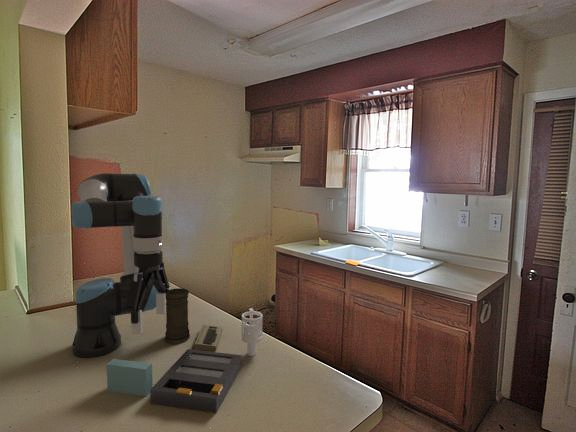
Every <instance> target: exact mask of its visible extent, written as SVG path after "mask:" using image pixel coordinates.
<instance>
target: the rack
mask: <svg viewBox="0 0 576 432" xmlns="http://www.w3.org/2000/svg"><path fill="white" fill-rule="evenodd" d="M242 367H243V355H241V354H235V353H226V352H225V353H224V352H217V351H200V350H193V349H191V348H187V349H186V350H185V351H184V352H183V354H182V355H181V356H180V357H179V358H178V359H177V360H176V361H175V363H173V364H172V365H171V366H170V367H169V369H168V370H167V371H166V372H164V374H163V375H162V376H161V377H160V378H159V380H158V381H157V382H156V383H155V384H154V385H153V387H152V388H151V389H150V393H149V394H150V395H149V397H150V405H151V404H152V405H159V406H164V407H165V406H166V407H170V408H180V409H187V410H192V411H201V412H208V413H213V414H217V413H218V411H219V409H220V407H221V406H222V404H223V402H224V401H225V399H226V398H227V397H226V396H227V395H228V393H229V391H230V389H231V388H232V385H233V384H234V383H235V380H236V379H237V377H238V375H239V373H240V371H242Z"/></svg>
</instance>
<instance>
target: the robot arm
mask: <svg viewBox="0 0 576 432" xmlns="http://www.w3.org/2000/svg"><path fill="white" fill-rule="evenodd" d="M78 185H79V186H77V187H78V188H77V195H78V198H79V199H80V201H74V202H72V204H71V224H72V226H73V227H74V229H96V228H97V229H98V228H111V227H113V228H114V227H115V228H117V227H120V228H121V241H122V242H121V243H122V258H123V260H122V261H123V273H122V274H121V275H120V276H119V281H117V282H115V280H114V279H113V278H110V277H106V278H105V277H103V278H96V279H93V280H90V281H87V282H85V283H82V284H80V285H79V286H78V287H77V288H76V291H75V304H76V305H75V306H76V307H75V308H76V310H75V311H76V331H75V334H74V338H73V341H72V344H71V352H72V354H73V355H74V356H76V357H79V358H96V357H100V356H104V355H106V354H109V353H112V352H113V351H115V350H117V349H118V348H119V347H120V346H121V345H122V335H121V333H120V332H119V329H118V326H117V323H116V317H117V316H123V315H129V314H130V324H131V325H130V327H131V329H130V330H131V331H130V332H131V335H142V334H143V313H144V312H147V311H152V310H155V309H156V310H155V311H156V312H155V314H156V315H165V316H166V293H168V292H169V290H170V289H169V288H170V283H169V280H168V276H167V273H166V270H165V263H164V261H163V251H162V249H163V243H164V240H163V205H162V198H161V197H159V196H154V195H152V190H151V189H152V188H151V184H150V181H149V178H148V177H147V176H146V175H145V174H141V173H139V174H138V173H107V172H104V173H98V174H93V175H91V176H89V177H87V178H85V179H84V180H82V181H81V182H80V184H78Z"/></svg>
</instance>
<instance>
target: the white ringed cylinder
mask: <svg viewBox="0 0 576 432" xmlns="http://www.w3.org/2000/svg"><path fill="white" fill-rule="evenodd" d="M248 310H249V311H246V312H243V313H242V314H241V341H242V342H244V343H246V344H247V349H246V352H247V353H246V354H247V356H249V357H253V356H256V355H257V343H259V342H261V341H263V340H262V339H263V318H264V317H263V316H264V315H263V313H262V312H260V311H255V310H254V308H253V307H251V308H249V309H248ZM246 316H249V318H248V317H246ZM254 316H258V317H257V318H256V317H255V318H254ZM247 323H248V324H247Z"/></svg>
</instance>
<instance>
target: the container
mask: <svg viewBox="0 0 576 432" xmlns="http://www.w3.org/2000/svg"><path fill="white" fill-rule="evenodd" d="M189 294H190V292H189V290H188V289H186V288H171V289H169V292H168V293H166V314H165V316H166V317H165V318H166V319H165V320H166V323H165V328H166V329H165V330H166V331H165V336H164V340H165V342H167V343H168V344H172V345H174V344H175V345H176V344H182V343H185V342H186V341H188V340H189V339H190V337H191V333H190V329H189V313H188V312H189V311H188V310H189V305H188V304H189V301H188V298H189Z"/></svg>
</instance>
